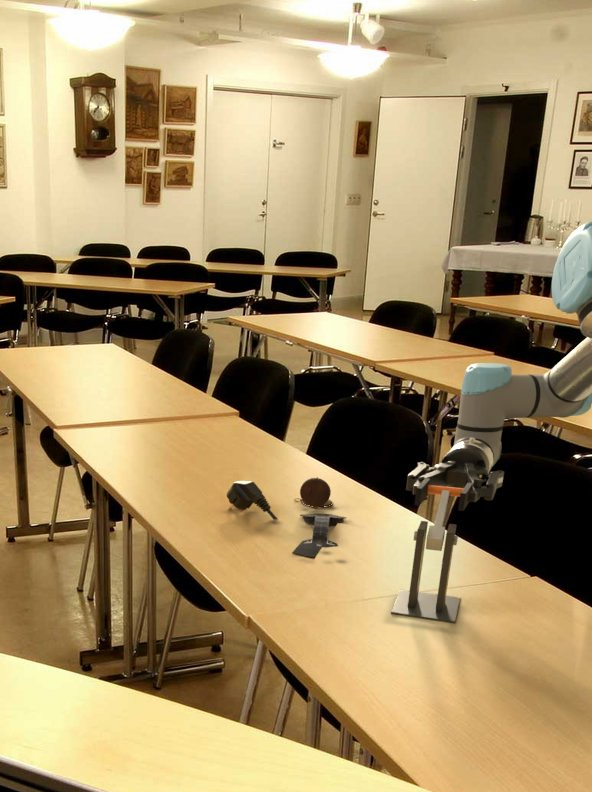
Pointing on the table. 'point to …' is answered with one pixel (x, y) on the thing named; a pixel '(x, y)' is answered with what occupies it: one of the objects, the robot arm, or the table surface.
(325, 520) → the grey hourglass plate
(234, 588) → the table surface
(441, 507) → the lever
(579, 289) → the robot arm
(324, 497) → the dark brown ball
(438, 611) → the stand
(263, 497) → the power plug
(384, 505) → the table surface
